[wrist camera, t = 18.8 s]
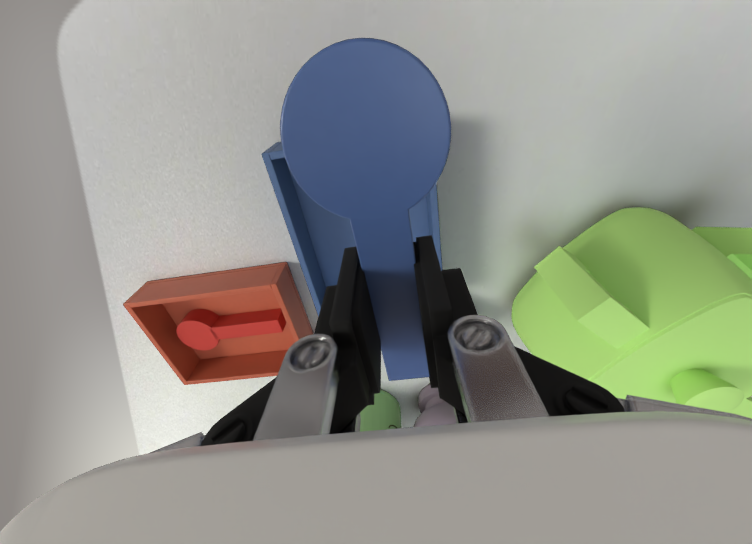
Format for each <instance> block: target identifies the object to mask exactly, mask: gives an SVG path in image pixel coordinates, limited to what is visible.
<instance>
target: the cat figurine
mask: <svg viewBox="0 0 752 544" xmlns="http://www.w3.org/2000/svg"><path fill="white" fill-rule="evenodd" d="M418 400H419V409H420V412H421V415H420V416H419V417H418V418H417V419H416V421H415V424H414V427H422V426H435V425H447V424H457V423H456V419H455V415H454V407H453V406H451V405H450V404H448V403H447V402H445V401H444V400H442V399H440V397H439V391H438V388H431V385H430V384H429V385H428V386H426V387H425V388H423V389H422V391H421V392H420V393H419V397H418Z"/></svg>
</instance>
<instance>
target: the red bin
mask: <svg viewBox="0 0 752 544" xmlns="http://www.w3.org/2000/svg"><path fill="white" fill-rule="evenodd" d="M123 305H124V307H125V308H126V309H127V311H128V312H129V313H130V314H131V316H132V317H133V318H134V320H135V321H136V322H137V324H138V325H139V326H140V328H141V329H142V330H143V331H144V333H145V334H146V335H147V337H148V338H149V339H150V341H151V342H152V343H153V345H154V346H155V347H156V348H157V350H158V351H159V352H160V354H161V355H162V356H163V358H164V359H165V360H166V362H167V363H168V364H169V365H170V367H171V368H172V369H173V371H174V372H175V373H176V375H177V376H178V377H179V379H180V380H181V381H182V382H183V384H184V385H188V384H199V383H208V382H218V381H228V380H238V379H248V378H258V377H268V376H277V375H278V372H279V370H280V367H281V365H282V362H283V359H284V357H285V354H286V352H287V351H288V349H289V348H290V347H291V346H292V345H293V344H294V343H295V342H296V341H298V340H299V339H301V338H303V337H305V336H308V335H312V334H313V331H312V328H311V326H310V323H309V320H308V318H307V315H306V312H305V310H304V307H303V304H302V302H301V299H300V296H299V294H298V291H297V288H296V286H295V283H294V280H293V278H292V275H291V272H290V270H289V267H288V264H287V262H283V263H276V264H269V265H261V266H254V267H247V268H240V269H233V270H226V271H219V272H211V273H204V274H197V275H190V276H183V277H176V278H169V279H161V280H154V281H147V282H146V283H145V284H144V285H143V286H142V287H141V288H140V289H139V290H138V291H137V292H135V293H134V294H133V295H132V296H131V297H130V298H129V299H128V300H127V301H126V302H125V303H124V304H123ZM279 308H281V310H282V313H283V315H284V317H285V320H286V325H285V328H284V330H283V332H280V333H272V334H263V335H254V336H246V337H237V338H229V339H220V341H219V343H218V344H217V346H216V347H214V348H213V349H210V350H198V349H194V348H191V347H189V346H187V345H186V344H184V343H183V342H182V341H181V340H180V339H179V337H178V335H177V331H176V330H177V327H178V325H179V324H180V322H181V321H182V320H183V319H184V317H185V316H186V315H187V313H188V312H190V311H192V310H194V309H206V310H210V311H212V312H214V313H216V314H218V315H219V316H222V315H230V314H239V313H247V312H255V311H263V310H271V309H279Z"/></svg>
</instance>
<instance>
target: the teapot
mask: <svg viewBox="0 0 752 544" xmlns="http://www.w3.org/2000/svg"><path fill="white" fill-rule="evenodd" d="M534 268H535V269H536V270H537V272H536V273H535V275H534V276H533V277H532V278H531V279H530V280H529V281H528V282H527V283H526V284H525V286H524V287H523V288H522V289H521V290H520V292H519V293H518V294H517V296H516V298H515V299H514V301H513V305H512V322H513V326H514V328H515V330H516V332H517V333H518V335H519V337H520V338H521V340H522V341H523V343H524V344H525V345H526V347H527V348H528V350H529V351H530V352H531V353H532V355H534V356H537V357H539V358H541V359H543V360H545V361H548V362H550V363H552V364H554V365H556V366H558V367H561V368H563V369H565V370H567V371H569V372H572V373H574V374H576V375H578V376H580V377H583V378H585V379H587V380H589V381H591V382H593V383H596V384H598V385H599V386H601V387H603V388H605V389H606V390H608V391H609V392H610V393H611V394H613V395H614V396H615V397H616V398H620V399H626V396H627V395H632V396H637V397H643V398H648V399H654V400H660V401H665V402H671V403H677V404H682V405H688V406H693V407H699V408H705V409H710V410H716V411H722V412H727V413H733V414H737V415H741V416H744V417H748V418H751V419H752V397H751V396H752V228H729V227H695V228H694V229H692V230H691V229H689V228H688V227H686V226H685V225H683V224H682V223H680V222H679V221H677V220H676V219H674V218H673V217H671V216H669V215H667V214H666V213H664V212H661V211H658V210H655V209H651V208H639V207H636V208H624V209H621V210H618V211H616V212H614V213H612V214H610V215H608V216H607V217H605V218H604V219H602V220H600V221H599V222H597V223H596V224H594V225H593V226H592V227H590V228H589V229H587V230H586V231H584V232H583V233H582V234H580V235H579V236H578V237H576V238H575V239H573V240H572V241H571V242H569V243H568V244H567V245H566V246H564V247H563V248H562V247H560V246H559V247H557V248H556V249H555V250H554V251H553V252H551V253H550V254H549V255H548V256H547V257H546V258H544V259H543V260H542V261H541V262H540V263H539V264H537V265H536V266H535V267H534Z"/></svg>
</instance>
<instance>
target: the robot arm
mask: <svg viewBox="0 0 752 544" xmlns="http://www.w3.org/2000/svg"><path fill="white" fill-rule="evenodd" d="M413 244H414V252H415V259H416V264H414V271H415V278H416V285H417V293H418V300H419V307H420V315H421V322H422V329H423V337H424V344H425V351H426V358H427V364H428V371H429V378H430V385H431V388H438V391H439V397H440V399H442V400H444V401H445V402H447V403H448V404H450V405H451V406H453V407H454V415H455V419H456V423H457V424H447V425H435V426H422V427H410V428H398V429H386V430H374V431H362V432H360V425H361V416H360V412H361V411H362V410H363V409H364V408H365V407H367V406H368V405H374V394H377V393H380V385H381V341H380V336H379V332H378V328H377V324H376V320H375V315H374V311H373V307H372V303H371V298H370V294H369V290H368V286H367V282H366V277H365V273H364V271H362V268H361V264H360V260H359V256H358V252H357V248H356V247H349V248H345V249H344V254H343V258H342V263H341V268H340V273H339V277H338V282H337V285H333V286H327V287H326V290H325V294H324V298H323V301H322V305H321V309H320V313H319V317H318V321H317V325H316V329H315V333H314V334H312V335H308V336H305V337H303V338H301V339H299V340H298V341H296V342H295V343H294V344H293V345H292V346H291V347H290V348H289V349H288V351H287V352H286V354H285V357H284V359H283V362H282V365H281V367H280V370H279V372H278V375H277V377H276V378H275V379H273V380H272V381H271V382H269V383H268V384H267V385H265V386H264V387H263V388H261V389H260V390H259V391H257V392H256V393H255V394H253V395H252V396H251V397H249V398H248V399H247V400H245V401H244V402H243V403H241V404H240V405H239V406H237V407H236V408H235V409H233V410H232V411H231V412H229V413H228V414H227V415H225V416H224V417H223V418H221V419H220V420H219V421H218V422H217V423H216V424H215V425H213V426H212V428H211V429H210V430H209V432H208V433H207V434H206V435H205V436H204V435H203V434H202V432H200V433H198V434H195V435H193V436H190V437H188V438H185V439H183V440H180V441H178V442H176V443H173V444H171V445H168V446H166V447H163V448H161V449H158V450H156V451H153V452H151V453H148V454H144V455H139V456H135V457H130V458H127V459H122V460H119V461H116V462H113V463H110V464H107V465H104V466H101V467H98V468H95V469H93V470H91V471H88V472H86V473H84V474H81V475H79V476H77V477H74V478H72V479H70V480H68V481H66V482H64V483H62V484H61V485H59V486H57V487H55V488H53V489H52V490H50V491H48V492H47V493H45V494H43V495H42V496H40V497H38V498H37V499H36V500H34V501H33V502H32V503H30V504H29V505H28V506H26V507H25V508H24V509H23V510H22V511H21V512H19V513H18V514H17V515H16V516H15V517H14V518H13V519H12V520H11V521H10V522H9V523H8V524H7V525H6V526H5V527H4V528H3V529H2V530H1V531H0V544H752V419H751V418H748V417H744V416H741V415H737V414H733V413H727V412H722V411H716V410H710V409H705V408H699V407H693V406H688V405H682V404H677V403H671V402H665V401H660V400H654V399H648V398H643V397H637V396H632V395H627V396H626V399H620V398H616V397H615V396H614V395H613V394H611V393H610V392H609V391H608V390H606V389H605V388H603V387H601V386H599V385H598V384H596V383H593V382H591V381H589V380H587V379H585V378H583V377H580V376H578V375H576V374H574V373H572V372H569V371H567V370H565V369H563V368H561V367H558V366H556V365H554V364H552V363H550V362H548V361H545V360H543V359H541V358H539V357H537V356H534V355H532V354H530V353H528V352H526V351H523V350H521V349H519V348H517V347H515V346H514V345H513V343H512V341H511V340H510V338H509V336H508V334H507V332H506V330H505V328H504V327H503V326H502V324H500V323H499V322H498V321H496V320H495V319H492V318H490V317H487V316H482V315H478V314H477V311H476V309H475V306H474V303H473V301H472V298H471V295H470V293H469V290H468V287H467V285H466V282H465V279H464V277H463V274H462V271H461V269H460V268H456V269H449V270H442V271H441V267H440V264H439V260H438V256H437V253H436V249H435V246H434V242H433V238H432V235H429V236H422V237H416V242H413Z"/></svg>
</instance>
